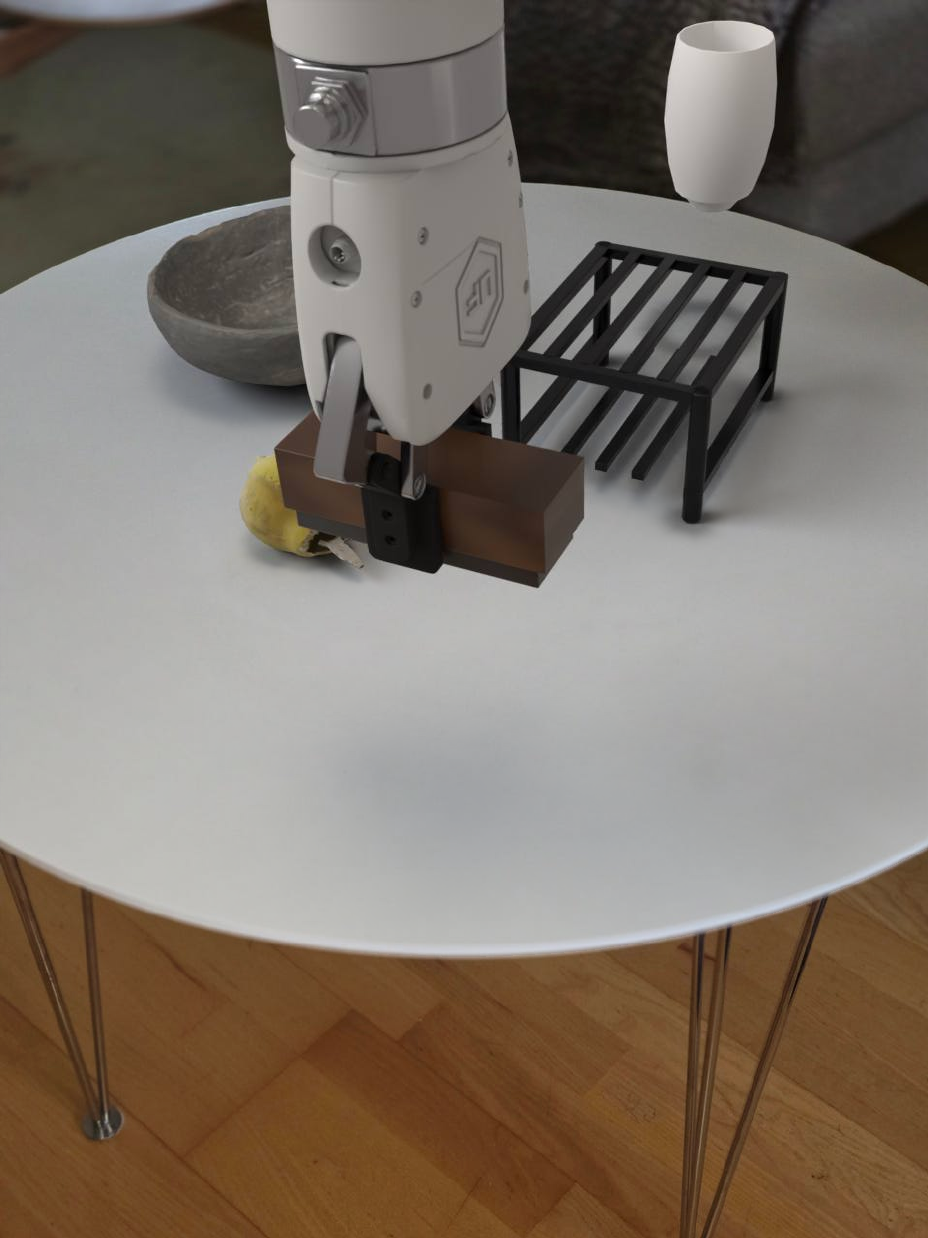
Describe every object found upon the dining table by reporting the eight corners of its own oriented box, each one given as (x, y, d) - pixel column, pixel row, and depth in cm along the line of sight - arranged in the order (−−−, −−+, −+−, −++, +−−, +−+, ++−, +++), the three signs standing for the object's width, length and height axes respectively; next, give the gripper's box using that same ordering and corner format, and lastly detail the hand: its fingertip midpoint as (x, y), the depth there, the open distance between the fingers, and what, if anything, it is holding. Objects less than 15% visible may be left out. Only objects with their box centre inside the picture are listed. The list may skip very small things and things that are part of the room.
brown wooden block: (584, 537, 56) (584, 456, 54) (545, 594, 54) (543, 512, 51) (334, 477, 61) (323, 399, 58) (287, 527, 58) (273, 447, 56)
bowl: (201, 454, 91) (180, 348, 85) (137, 337, 103) (115, 238, 98) (449, 387, 96) (443, 282, 91) (359, 283, 108) (349, 185, 103)
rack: (775, 394, 93) (790, 272, 87) (697, 525, 83) (708, 397, 77) (595, 356, 98) (598, 239, 92) (499, 476, 87) (496, 352, 81)
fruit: (324, 607, 78) (206, 523, 82) (392, 579, 83) (277, 500, 87) (345, 522, 75) (222, 439, 79) (414, 497, 80) (294, 420, 84)
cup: (665, 356, 98) (684, 59, 84) (642, 308, 103) (656, 22, 90) (764, 346, 98) (798, 49, 85) (736, 299, 104) (764, 13, 90)
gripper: (368, 201, 38) (420, 679, 50) (594, 18, 49) (593, 444, 61) (151, 168, 41) (249, 628, 53) (412, 1, 52) (444, 412, 64)
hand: (433, 526), depth 57 cm, fingers closed on brown wooden block, 4 cm apart
